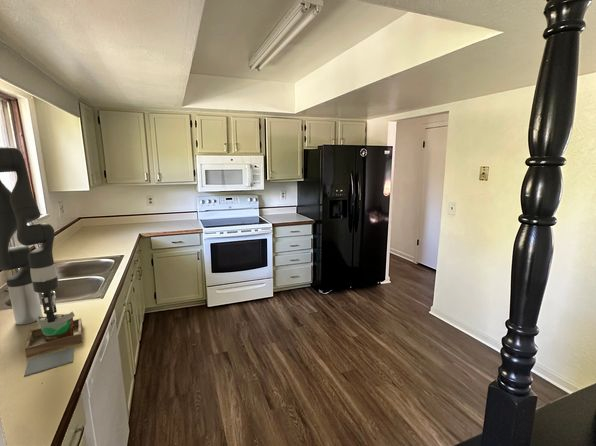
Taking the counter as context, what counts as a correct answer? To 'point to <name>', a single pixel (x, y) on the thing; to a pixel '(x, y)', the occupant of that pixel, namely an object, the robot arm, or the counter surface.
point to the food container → (57, 326)
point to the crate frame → (52, 344)
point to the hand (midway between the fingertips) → (52, 317)
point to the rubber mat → (49, 361)
